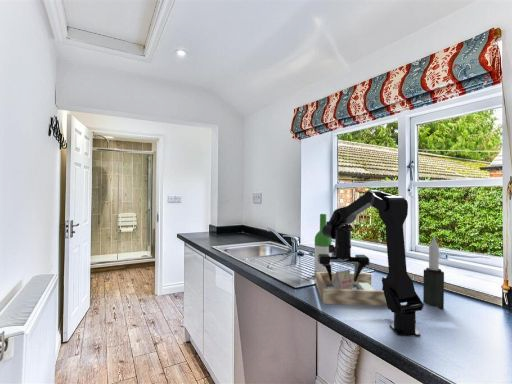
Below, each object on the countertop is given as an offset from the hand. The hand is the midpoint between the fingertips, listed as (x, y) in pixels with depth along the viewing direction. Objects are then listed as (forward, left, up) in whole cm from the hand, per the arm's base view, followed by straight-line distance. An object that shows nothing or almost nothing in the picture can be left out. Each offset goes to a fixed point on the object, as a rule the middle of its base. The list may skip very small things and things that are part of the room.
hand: (342, 281), depth 114 cm
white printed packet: (0, 0, -6) cm, 6 cm away
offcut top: (0, -10, -4) cm, 11 cm away
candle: (-8, -30, -6) cm, 32 cm away
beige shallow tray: (0, -2, -6) cm, 6 cm away
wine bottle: (+23, +4, -6) cm, 24 cm away
